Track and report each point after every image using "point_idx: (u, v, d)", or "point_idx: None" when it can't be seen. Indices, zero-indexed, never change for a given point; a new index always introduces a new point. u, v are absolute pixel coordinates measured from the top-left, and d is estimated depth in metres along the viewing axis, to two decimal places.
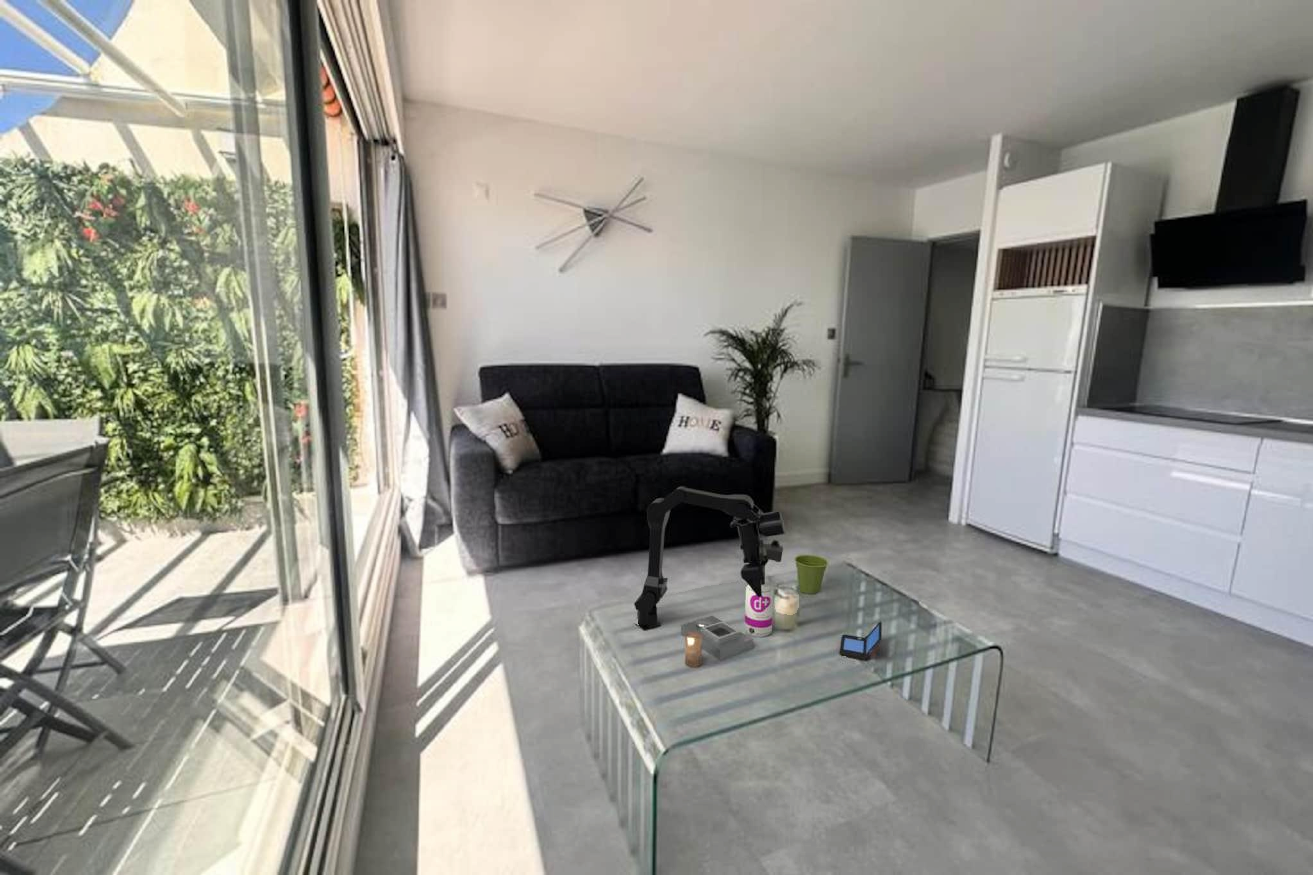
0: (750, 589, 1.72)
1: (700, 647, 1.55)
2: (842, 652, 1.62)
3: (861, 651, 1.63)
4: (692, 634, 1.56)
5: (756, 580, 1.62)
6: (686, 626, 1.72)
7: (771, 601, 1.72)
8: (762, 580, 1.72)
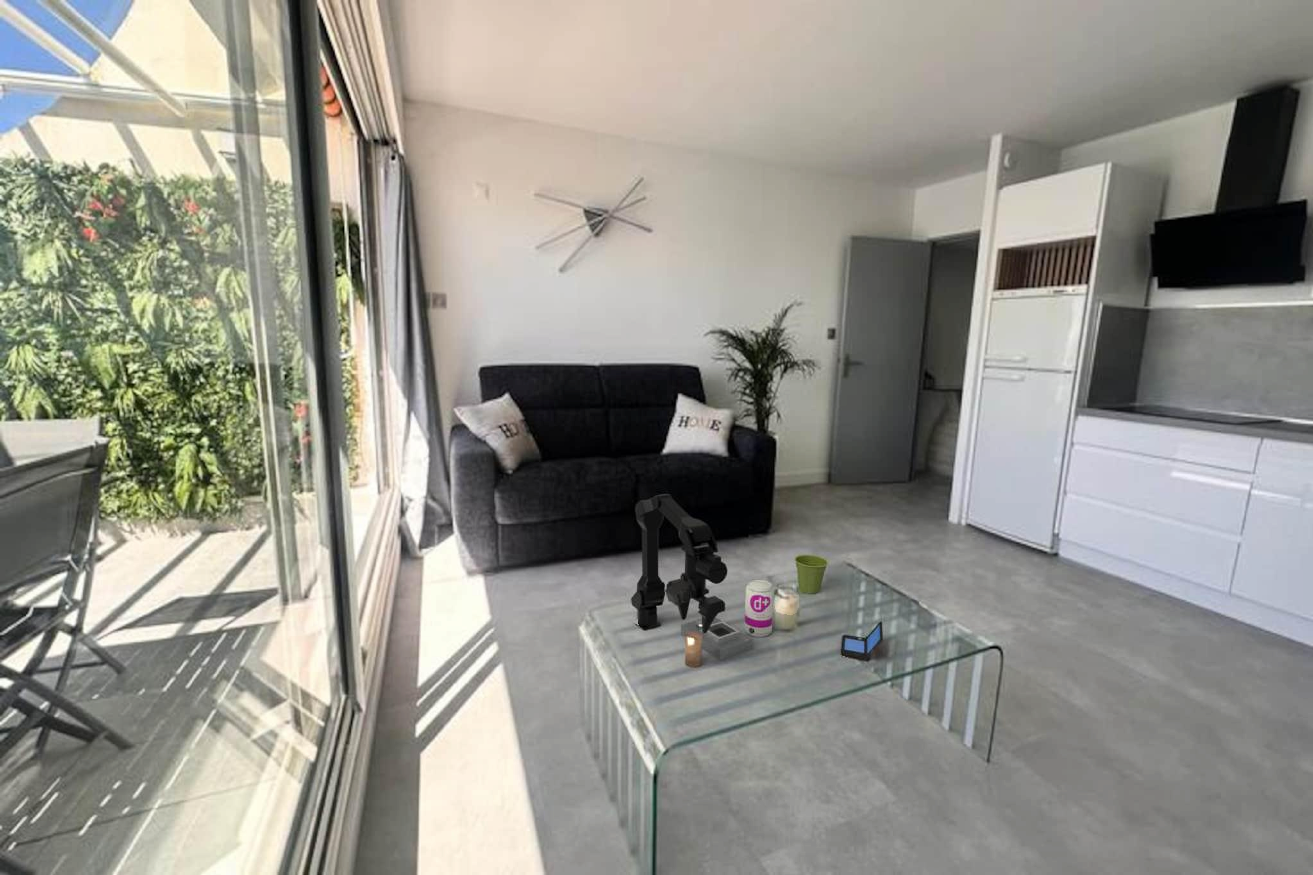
0: (750, 589, 1.72)
1: (700, 647, 1.55)
2: (843, 652, 1.62)
3: (862, 651, 1.63)
4: (692, 634, 1.56)
5: None
6: (686, 626, 1.72)
7: (771, 601, 1.72)
8: None
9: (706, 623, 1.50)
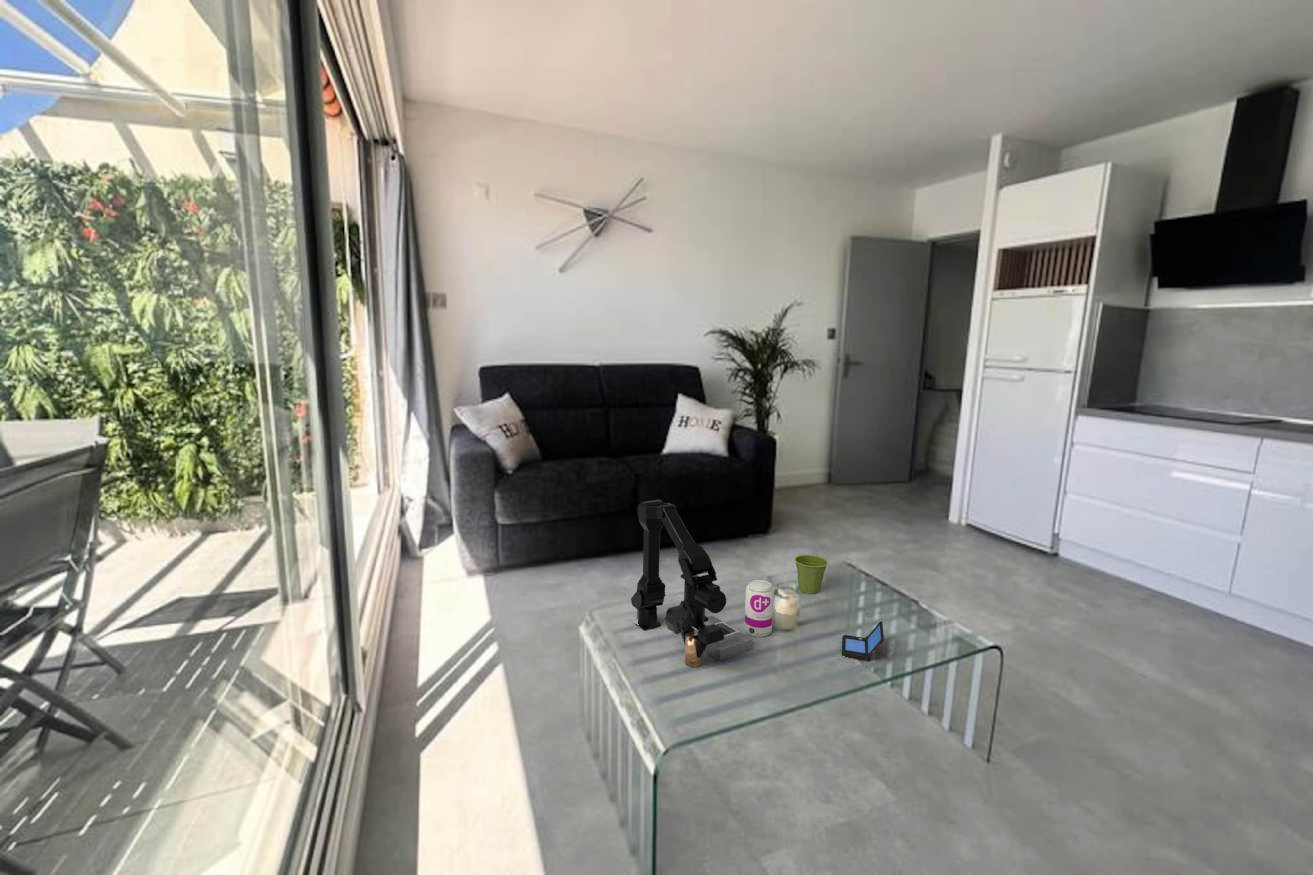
0: (750, 589, 1.72)
1: None
2: (844, 653, 1.62)
3: (863, 651, 1.63)
4: (692, 634, 1.56)
5: None
6: None
7: (771, 601, 1.72)
8: None
9: (700, 647, 1.53)
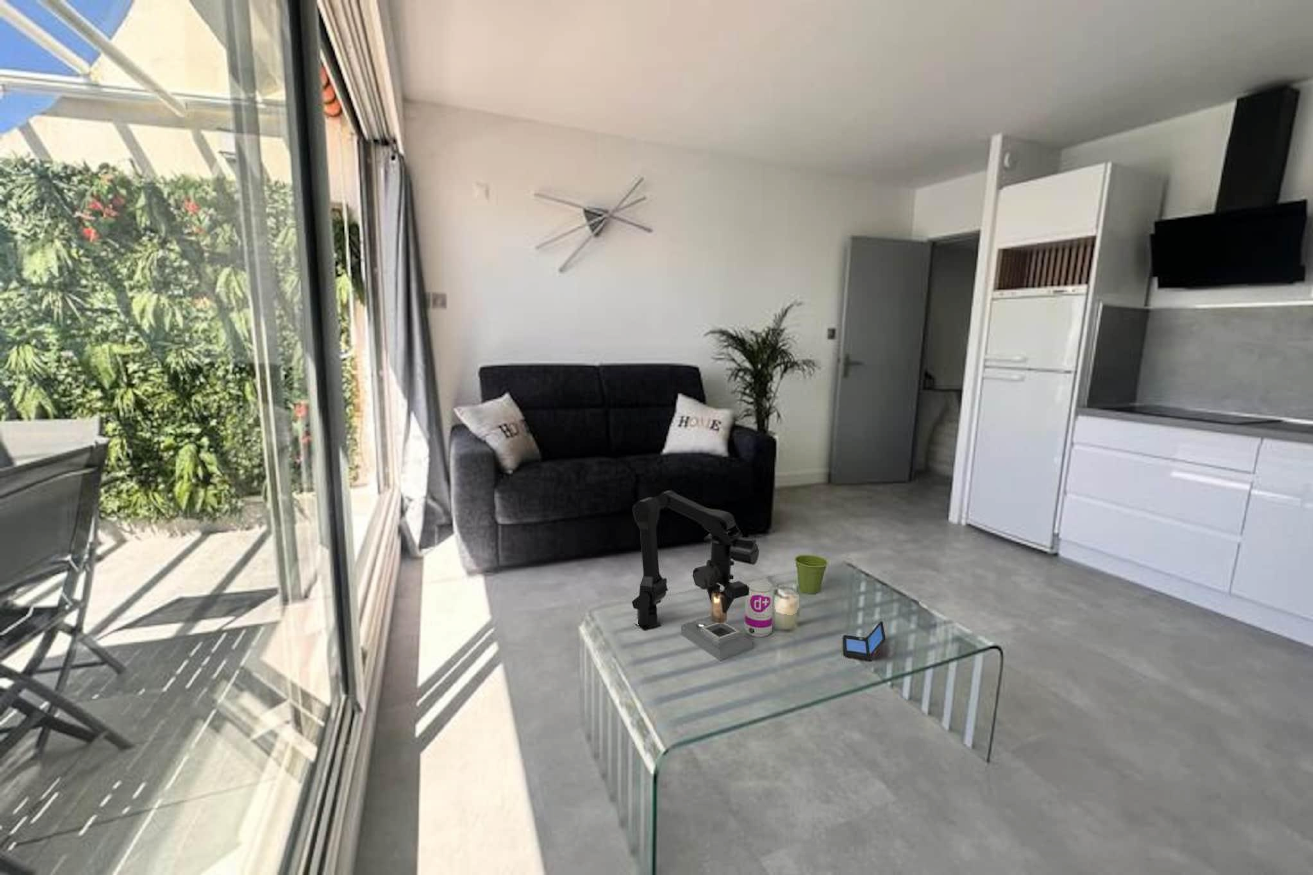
0: (750, 589, 1.72)
1: None
2: (846, 653, 1.62)
3: (864, 651, 1.63)
4: None
5: None
6: (686, 626, 1.72)
7: (771, 601, 1.72)
8: None
9: (726, 603, 1.61)
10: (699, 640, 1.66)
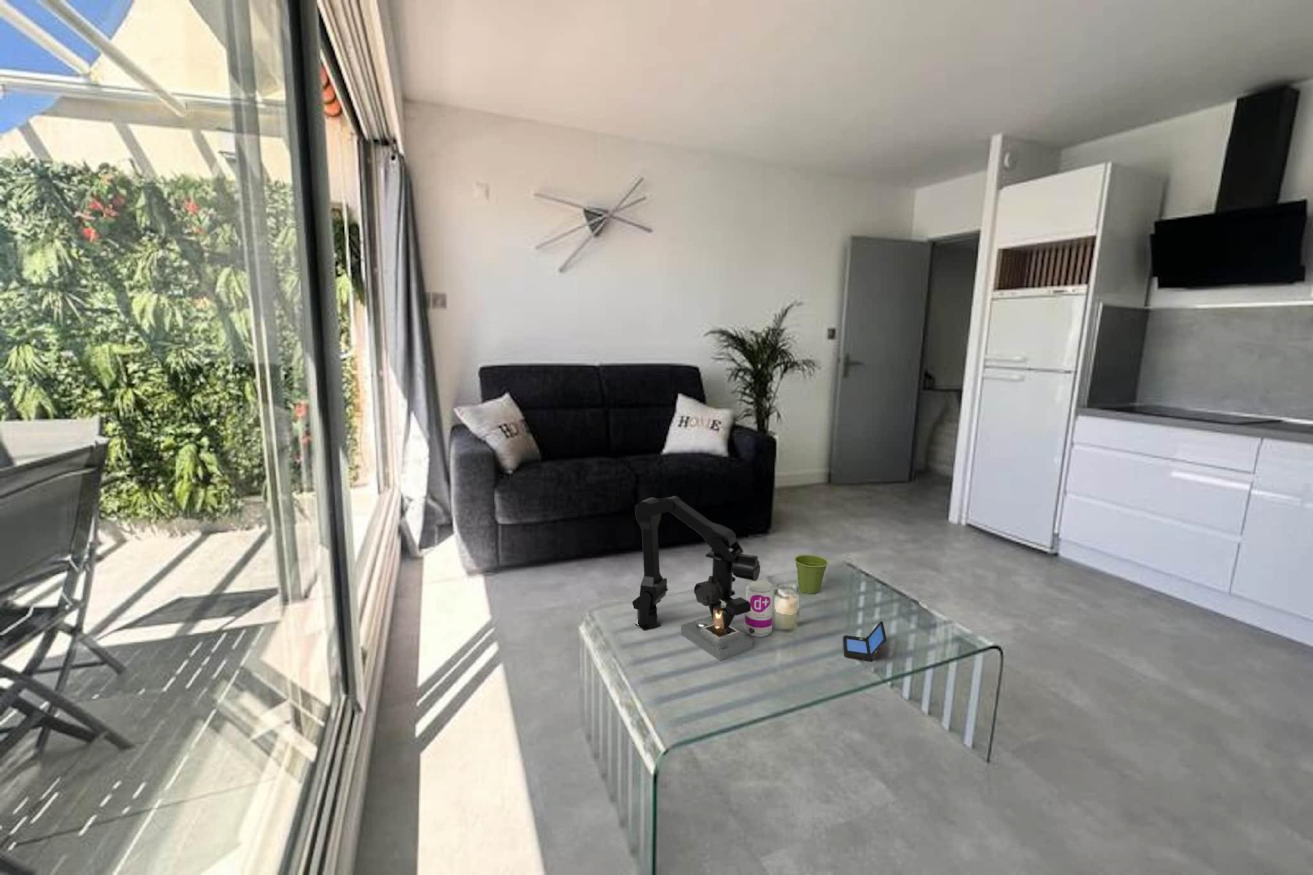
0: (750, 589, 1.72)
1: None
2: (847, 653, 1.62)
3: (865, 652, 1.62)
4: (719, 607, 1.66)
5: None
6: (686, 626, 1.72)
7: (771, 601, 1.72)
8: None
9: (727, 619, 1.63)
10: (699, 640, 1.66)
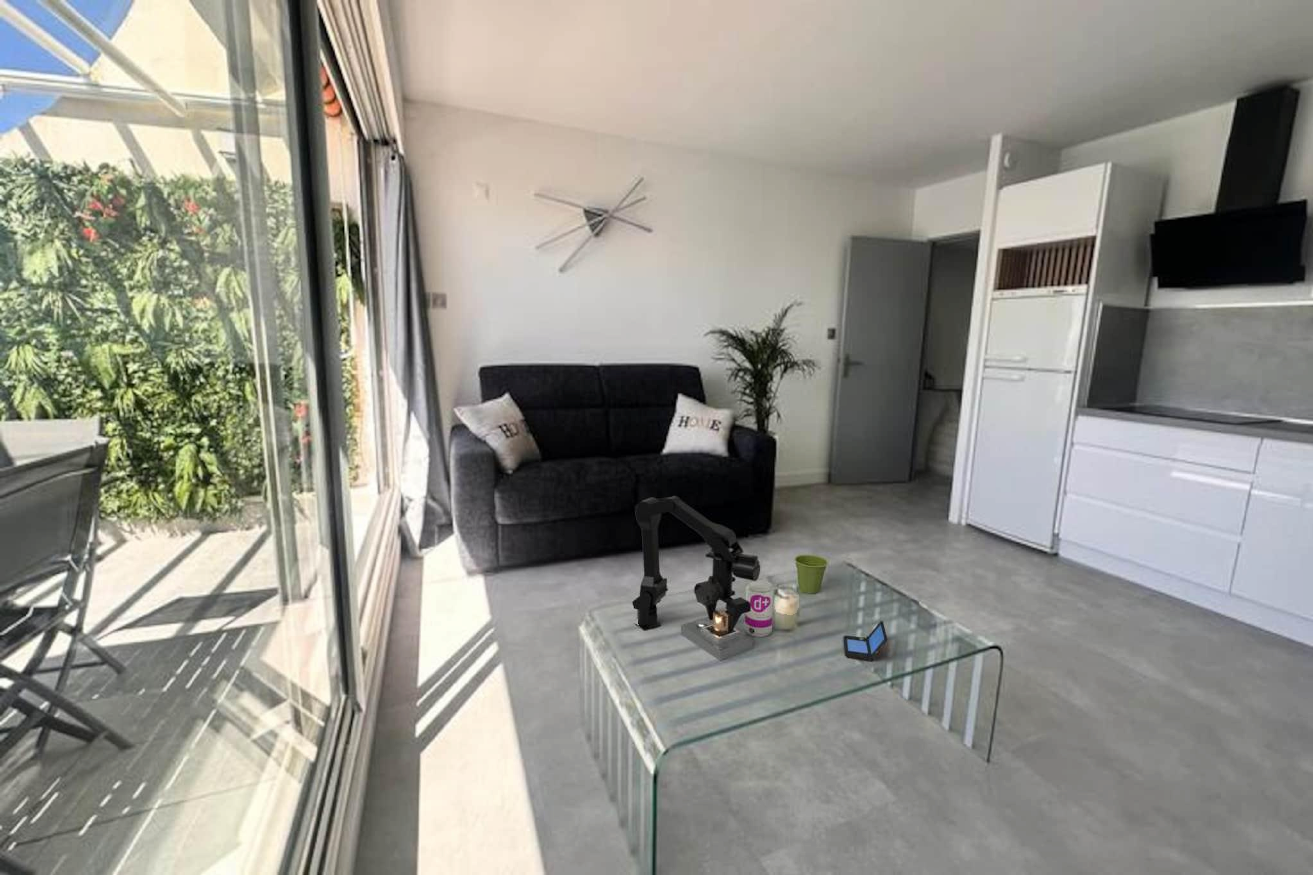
0: (750, 589, 1.72)
1: (727, 624, 1.65)
2: (848, 654, 1.61)
3: (866, 652, 1.62)
4: (719, 612, 1.67)
5: None
6: (686, 626, 1.72)
7: (771, 601, 1.72)
8: None
9: (732, 622, 1.62)
10: (699, 640, 1.66)
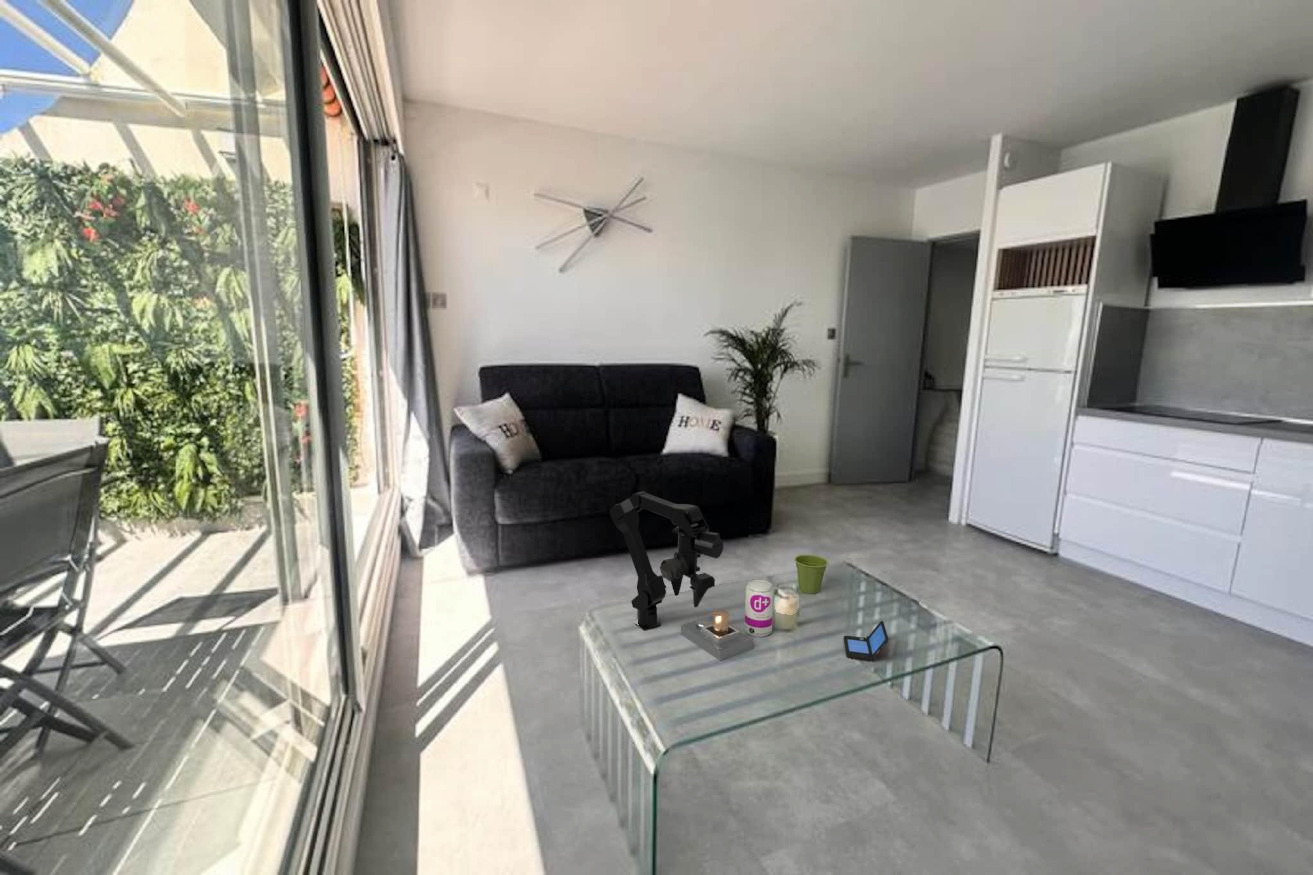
0: (750, 589, 1.72)
1: (727, 624, 1.65)
2: (849, 654, 1.61)
3: (867, 652, 1.62)
4: (719, 612, 1.67)
5: None
6: (686, 626, 1.72)
7: (771, 601, 1.72)
8: None
9: (697, 597, 1.63)
10: (699, 640, 1.66)
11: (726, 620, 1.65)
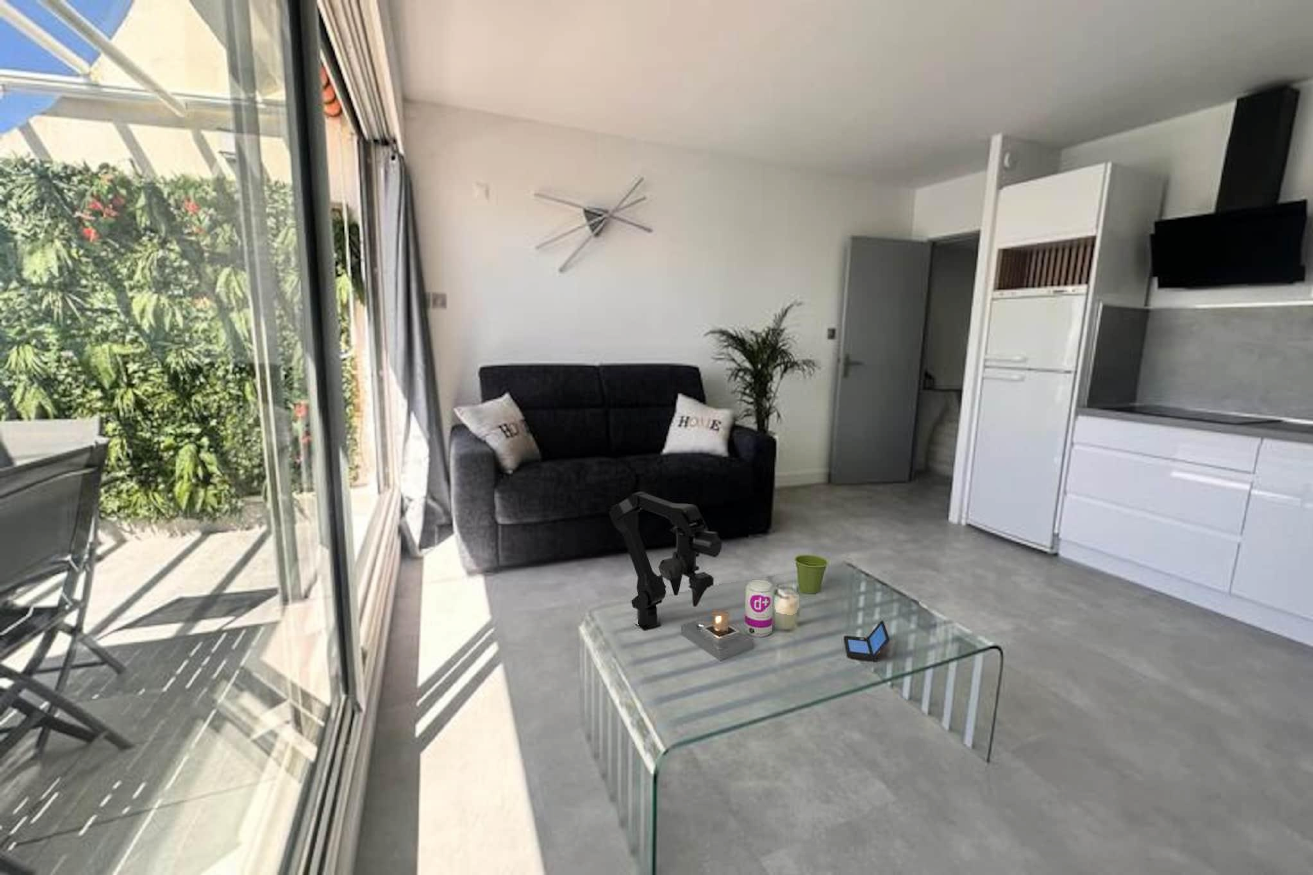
0: (750, 589, 1.72)
1: (727, 624, 1.65)
2: (850, 654, 1.61)
3: (867, 652, 1.62)
4: (719, 612, 1.67)
5: None
6: (686, 626, 1.72)
7: (771, 601, 1.72)
8: None
9: (696, 596, 1.63)
10: (699, 640, 1.66)
11: (726, 620, 1.65)
